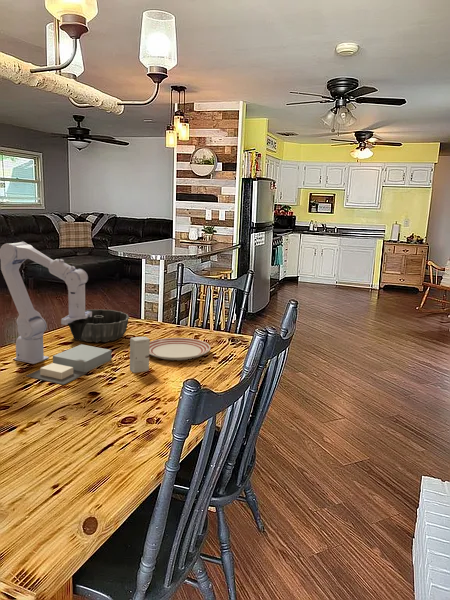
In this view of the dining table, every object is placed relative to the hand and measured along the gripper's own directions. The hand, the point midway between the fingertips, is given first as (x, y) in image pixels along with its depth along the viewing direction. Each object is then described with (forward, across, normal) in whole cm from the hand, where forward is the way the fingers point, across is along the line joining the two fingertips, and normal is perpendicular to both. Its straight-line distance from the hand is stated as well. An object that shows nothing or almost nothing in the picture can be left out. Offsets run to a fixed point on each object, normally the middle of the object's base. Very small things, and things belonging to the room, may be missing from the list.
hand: (77, 339), depth 170 cm
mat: (+10, -11, 0) cm, 15 cm away
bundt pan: (+10, +33, +15) cm, 38 cm away
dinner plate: (+10, +31, -25) cm, 41 cm away
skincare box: (+10, +7, -22) cm, 25 cm away
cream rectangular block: (+7, -11, 0) cm, 13 cm away
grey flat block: (+10, +3, 0) cm, 10 cm away
